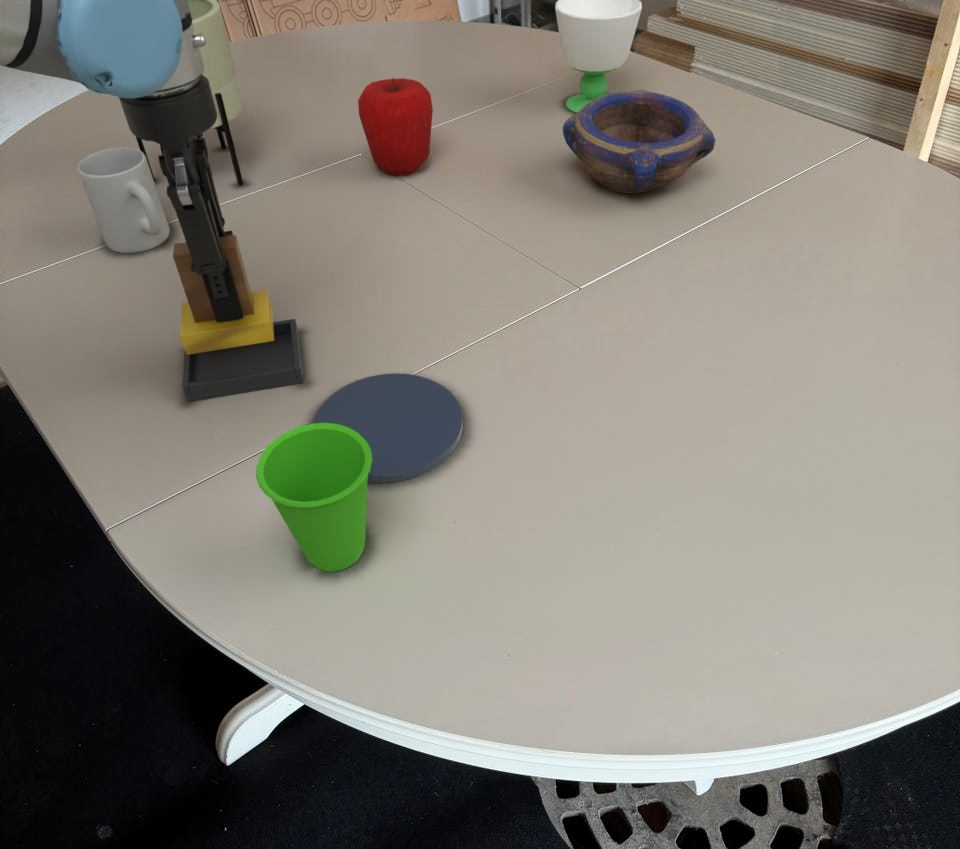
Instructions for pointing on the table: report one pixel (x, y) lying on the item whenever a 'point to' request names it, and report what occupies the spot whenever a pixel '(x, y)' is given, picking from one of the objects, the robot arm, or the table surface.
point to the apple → (397, 124)
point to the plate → (398, 422)
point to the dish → (245, 366)
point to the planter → (216, 73)
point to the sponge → (198, 314)
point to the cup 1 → (320, 490)
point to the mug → (124, 199)
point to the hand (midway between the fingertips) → (229, 309)
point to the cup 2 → (595, 41)
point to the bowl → (637, 139)
